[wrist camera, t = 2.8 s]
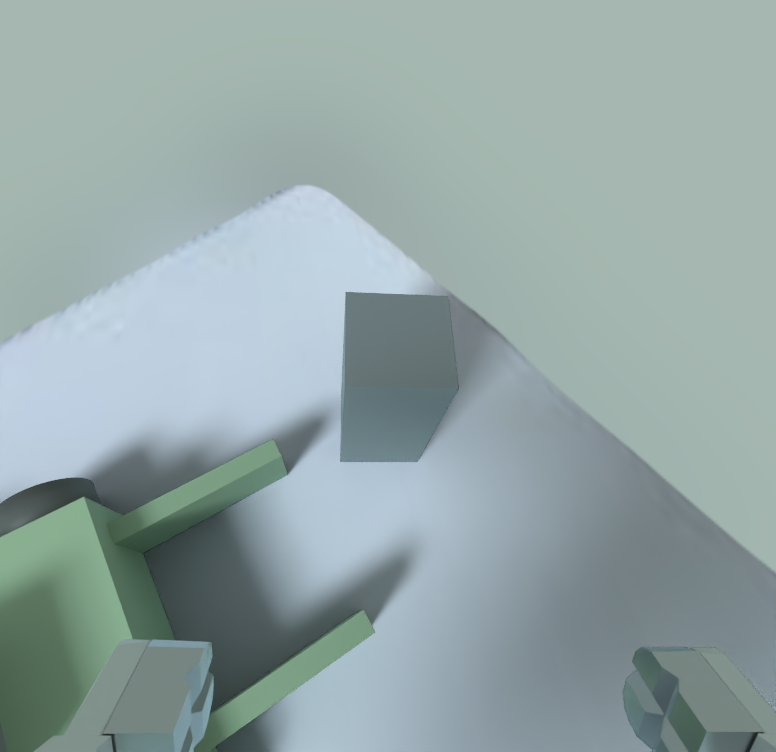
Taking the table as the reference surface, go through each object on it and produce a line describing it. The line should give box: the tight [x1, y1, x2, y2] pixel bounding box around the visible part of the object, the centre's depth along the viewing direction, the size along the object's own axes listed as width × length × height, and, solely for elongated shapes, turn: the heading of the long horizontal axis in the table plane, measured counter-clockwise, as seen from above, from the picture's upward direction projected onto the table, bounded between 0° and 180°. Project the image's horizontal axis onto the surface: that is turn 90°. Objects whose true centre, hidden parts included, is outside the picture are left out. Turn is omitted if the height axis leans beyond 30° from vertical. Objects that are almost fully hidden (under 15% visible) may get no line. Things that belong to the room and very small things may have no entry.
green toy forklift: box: [0, 439, 375, 752], centre depth 18 cm, size 16×20×8 cm
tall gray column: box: [340, 292, 459, 462], centre depth 23 cm, size 4×4×10 cm
